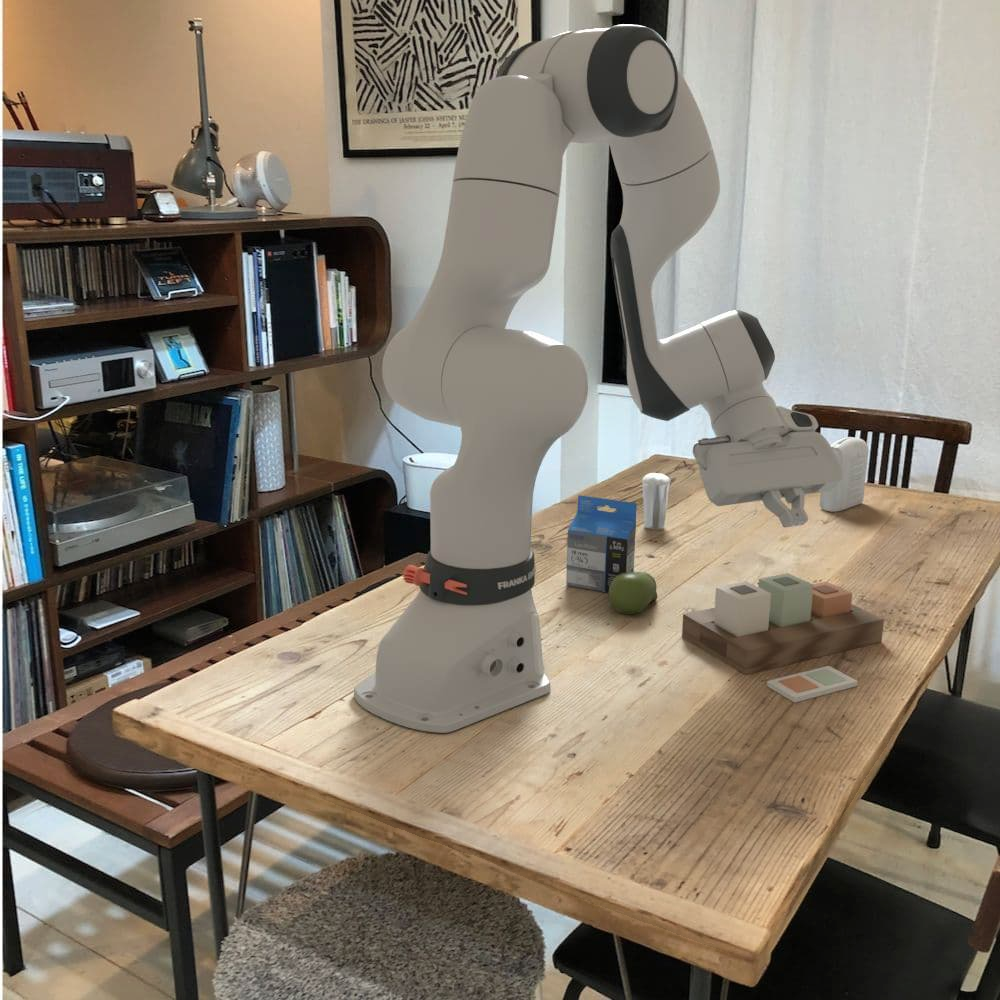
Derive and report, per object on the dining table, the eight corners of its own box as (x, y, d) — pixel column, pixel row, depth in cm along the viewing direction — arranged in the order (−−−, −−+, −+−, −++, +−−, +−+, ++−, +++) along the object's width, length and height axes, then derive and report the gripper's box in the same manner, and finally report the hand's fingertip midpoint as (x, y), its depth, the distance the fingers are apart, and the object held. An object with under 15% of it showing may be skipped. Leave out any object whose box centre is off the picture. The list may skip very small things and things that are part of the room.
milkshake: (664, 534, 166) (667, 474, 164) (635, 528, 169) (637, 469, 167) (677, 527, 170) (680, 468, 167) (648, 521, 173) (651, 464, 170)
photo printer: (844, 498, 187) (850, 431, 184) (866, 503, 184) (873, 435, 181) (815, 509, 180) (821, 440, 177) (838, 514, 177) (844, 444, 174)
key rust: (821, 634, 126) (824, 597, 124) (795, 621, 130) (798, 586, 128) (848, 628, 128) (852, 592, 126) (822, 615, 132) (826, 580, 130)
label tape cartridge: (564, 586, 143) (566, 501, 140) (574, 577, 147) (576, 494, 143) (625, 596, 140) (628, 509, 136) (634, 587, 143) (637, 502, 140)
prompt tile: (794, 702, 110) (794, 696, 110) (766, 686, 114) (767, 680, 113) (856, 685, 114) (857, 679, 114) (828, 670, 118) (828, 664, 117)
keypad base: (745, 674, 116) (747, 650, 116) (681, 636, 127) (683, 613, 126) (881, 641, 125) (884, 618, 125) (812, 608, 136) (814, 587, 135)
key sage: (781, 627, 122) (784, 589, 121) (756, 614, 126) (759, 577, 125) (810, 621, 124) (813, 583, 123) (784, 608, 128) (787, 572, 127)
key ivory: (737, 637, 120) (740, 598, 118) (713, 623, 123) (716, 586, 122) (768, 630, 122) (771, 592, 120) (743, 617, 125) (746, 580, 124)
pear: (604, 573, 132) (628, 562, 141) (600, 613, 133) (625, 600, 142) (645, 579, 130) (668, 568, 139) (641, 620, 131) (664, 607, 140)
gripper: (699, 426, 129) (744, 521, 123) (823, 415, 138) (870, 503, 132) (676, 453, 134) (718, 546, 128) (797, 441, 143) (841, 527, 137)
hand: (796, 524), depth 130 cm, fingers closed
